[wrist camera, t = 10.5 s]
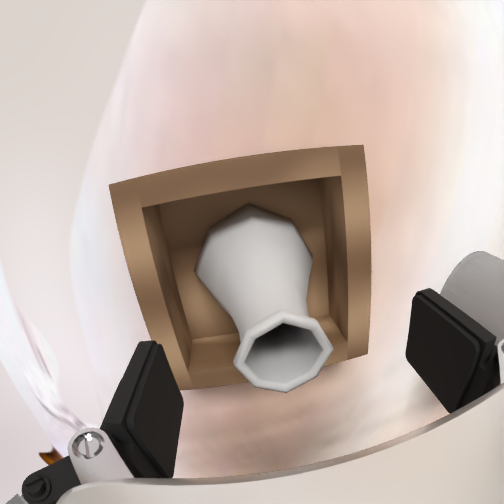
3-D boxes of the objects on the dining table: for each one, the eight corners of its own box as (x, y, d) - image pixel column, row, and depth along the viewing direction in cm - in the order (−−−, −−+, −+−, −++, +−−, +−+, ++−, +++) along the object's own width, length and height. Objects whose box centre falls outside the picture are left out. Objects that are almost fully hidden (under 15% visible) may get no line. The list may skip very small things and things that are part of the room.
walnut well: (344, 321, 22) (367, 353, 17) (179, 351, 21) (172, 390, 17) (332, 148, 18) (363, 144, 13) (134, 180, 17) (108, 184, 13)
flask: (330, 252, 19) (415, 329, 9) (260, 330, 20) (287, 443, 11) (246, 181, 17) (275, 199, 8) (174, 271, 18) (135, 371, 9)
